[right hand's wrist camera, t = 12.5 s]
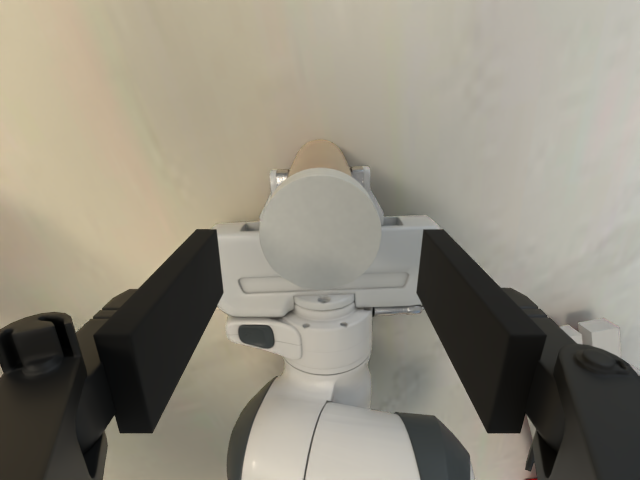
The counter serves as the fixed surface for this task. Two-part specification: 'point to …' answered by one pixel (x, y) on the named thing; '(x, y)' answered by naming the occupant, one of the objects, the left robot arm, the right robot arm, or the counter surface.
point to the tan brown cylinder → (320, 158)
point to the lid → (320, 229)
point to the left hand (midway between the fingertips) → (319, 168)
